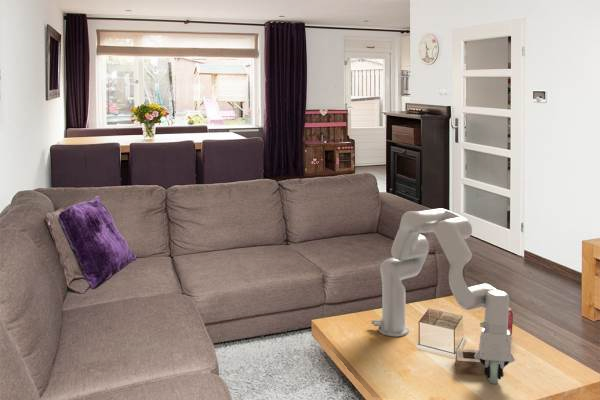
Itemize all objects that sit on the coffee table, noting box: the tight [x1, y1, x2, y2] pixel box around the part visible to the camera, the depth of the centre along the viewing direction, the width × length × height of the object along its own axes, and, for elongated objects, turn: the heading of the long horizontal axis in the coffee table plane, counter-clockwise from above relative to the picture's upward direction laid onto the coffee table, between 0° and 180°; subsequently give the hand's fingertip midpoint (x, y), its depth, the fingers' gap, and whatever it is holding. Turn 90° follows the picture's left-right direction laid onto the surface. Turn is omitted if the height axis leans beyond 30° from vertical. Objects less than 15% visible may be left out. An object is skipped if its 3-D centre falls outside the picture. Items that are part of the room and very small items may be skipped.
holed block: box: [455, 348, 487, 377], centre depth 218 cm, size 10×10×5 cm
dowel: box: [487, 361, 499, 385], centre depth 207 cm, size 3×3×9 cm
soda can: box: [507, 306, 514, 338], centre depth 245 cm, size 7×7×12 cm
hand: (493, 376), depth 208 cm, fingers closed on dowel, 3 cm apart
